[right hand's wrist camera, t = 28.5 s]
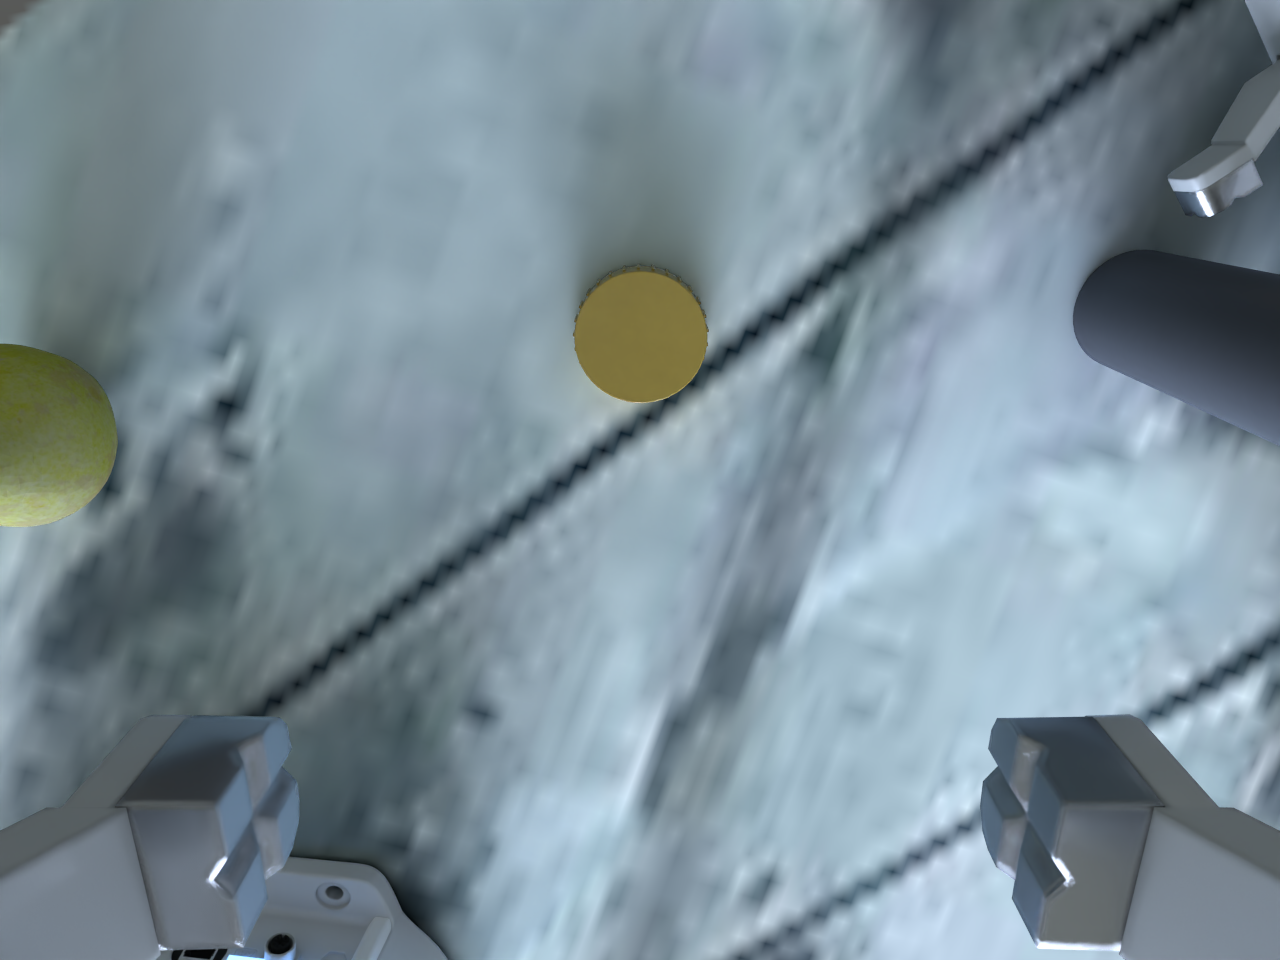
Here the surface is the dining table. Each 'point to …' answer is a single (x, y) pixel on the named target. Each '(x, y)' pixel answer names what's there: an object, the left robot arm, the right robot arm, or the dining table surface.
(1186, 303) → the jar
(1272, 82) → the left robot arm
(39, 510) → the fruit
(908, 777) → the dining table surface
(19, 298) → the dining table surface
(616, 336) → the lid
